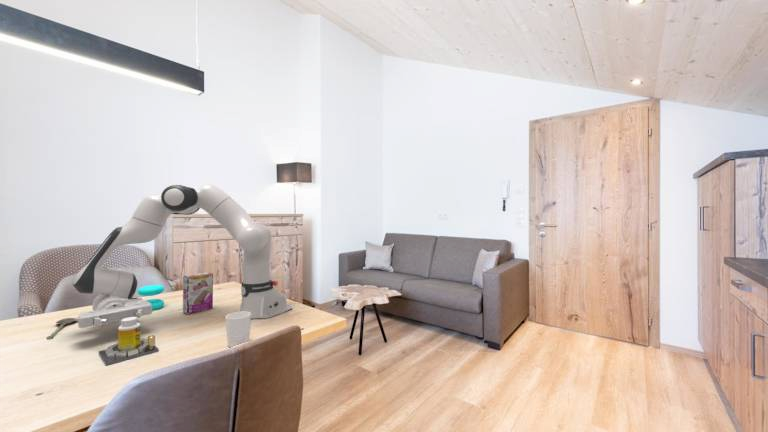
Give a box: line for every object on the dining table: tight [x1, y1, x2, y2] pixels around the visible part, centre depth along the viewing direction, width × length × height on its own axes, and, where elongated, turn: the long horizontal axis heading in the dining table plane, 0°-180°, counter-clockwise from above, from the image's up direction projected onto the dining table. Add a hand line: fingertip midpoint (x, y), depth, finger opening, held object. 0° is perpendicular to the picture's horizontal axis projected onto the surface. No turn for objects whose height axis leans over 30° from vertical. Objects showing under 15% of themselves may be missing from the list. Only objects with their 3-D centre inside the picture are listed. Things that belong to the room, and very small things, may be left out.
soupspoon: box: [46, 317, 77, 340], centre depth 123 cm, size 22×3×7 cm
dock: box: [98, 334, 160, 366], centre depth 104 cm, size 13×12×5 cm
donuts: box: [137, 284, 165, 311], centre depth 150 cm, size 10×10×10 cm
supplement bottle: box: [117, 317, 141, 351], centre depth 103 cm, size 6×6×10 cm
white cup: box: [225, 311, 252, 348], centre depth 110 cm, size 8×8×10 cm
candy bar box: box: [182, 272, 214, 315], centre depth 147 cm, size 11×5×16 cm, turn 144°
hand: (121, 319), depth 110 cm, fingers open, 8 cm apart
